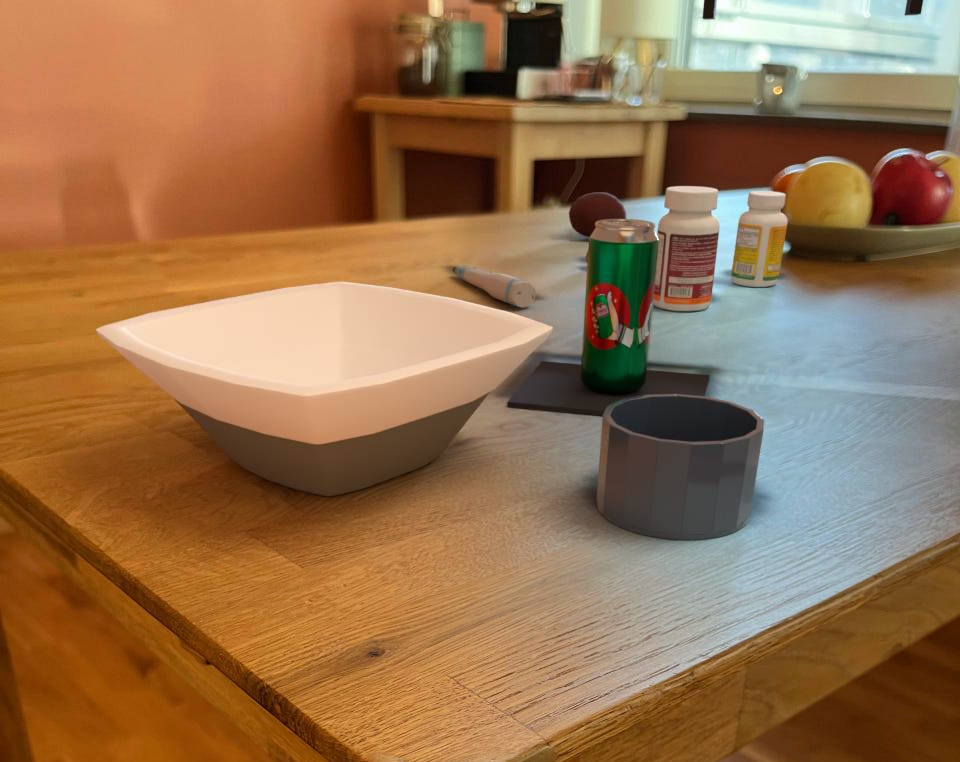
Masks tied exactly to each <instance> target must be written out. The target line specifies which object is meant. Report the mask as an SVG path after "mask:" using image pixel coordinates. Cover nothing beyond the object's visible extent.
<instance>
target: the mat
mask: <svg viewBox="0 0 960 762" xmlns="http://www.w3.org/2000/svg"><path fill="white" fill-rule="evenodd" d="M709 381H710V374H702V373H689V372H679V371H666V370H665V371H664V370H654V369H647V375H646V383H645V384H644V385H643V386H642V388H641V389H640V390H638V391H637V392H634V393H631V394H626V395H607V394H600V393H596V392H593V391H591V390H589V389H587V388H586V387H585V385H584V384H583V383H582V381H581V363H571V362H558V361H547V360H541V361H540V362H539V364H538V365H537V366H536V367H535V368H534V370H533V371H532V372H531V373H530V374H529V375H528V376H527V378H526V379H525V380H524V381H523V383H521V385H520V386H519V387H518V389H517V390H516V391H515V392H514V393H513V394H512V396H511V397H510V398H509V399H508V401H507V403H506V406H507V407H508V408H514V409H515V408H517V409H524V410H525V409H527V410H537V411H548V412H558V413H569V414H578V415H591V416H601V417H603V414H604V412H605V410H606V408H607V406H609V405H611V404H613V403H615V402H617V401H620V400H622V399H625V398H631V397H637V396H643V395H655V394H682V395H694V396H705V395H706V391H707V388H708V385H709Z"/></svg>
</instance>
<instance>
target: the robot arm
mask: <svg viewBox="0 0 960 762" xmlns="http://www.w3.org/2000/svg"><path fill="white" fill-rule="evenodd" d="M717 3H718V0H703V8H702V19H703V20H716V16H717V5H718V4H717ZM923 3H924V0H906V4H905V10H904V16H918V15H921V14H922V10H923Z"/></svg>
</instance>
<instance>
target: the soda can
mask: <svg viewBox="0 0 960 762" xmlns="http://www.w3.org/2000/svg"><path fill="white" fill-rule="evenodd" d="M595 226H596V228H595V230H594V231H593V233H592V234H591V236H590V237H588V247H587V252H588V262H586V263H587V264H586V280H585V281H586V282H585V297H584V312H583V313H584V315H583V330H582V331H583V332H582V347H581V348H582V349H581V363H580V364H581V381H582V383H583V384H584V385H585V387H586V388H587V389H589V390H591V391H593V392H596V393H600V394H607V395H626V394H631V393H634V392H637V391H638V390H640V389H641V388H642V386H643V385H644V384H645V383H646V375H647V370H648V362H649V354H650V353H649V351H650V343H651V341H650V340H651V331H652V320H653V309H654V304H653V300H654V289H655V278H656V267H657V257H658V246H659V239H658V237H657V232H656V231H655V228H656V224H655V223H654V222H652V221H649V220H644V219H635V218H626V219H605V220H599V221H597V222H595Z"/></svg>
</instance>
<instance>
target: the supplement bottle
mask: <svg viewBox="0 0 960 762" xmlns="http://www.w3.org/2000/svg"><path fill="white" fill-rule="evenodd" d="M785 205H786V193H784V192H781V191H770V190H754V191H749V193H748V197H747V207H748V210H746V211H744V212H743V213H741V214H740V216H739V218H738V223H737V229H736V237H735V244H734V245H735V246H734V253H733V259H732V265H731V274H730V280H731V282H732V283H733V284H735V285H738V286H743V287H749V288H767V287H773V286H775V285H777V284H778V282H779V277H780V272H781V266H782V259H783V254H784V253H783V252H784V246H785V241H786V235H787V229H788V217H787V215H785V214H784V213H783V212H781V211H782V209H784V206H785Z"/></svg>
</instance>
